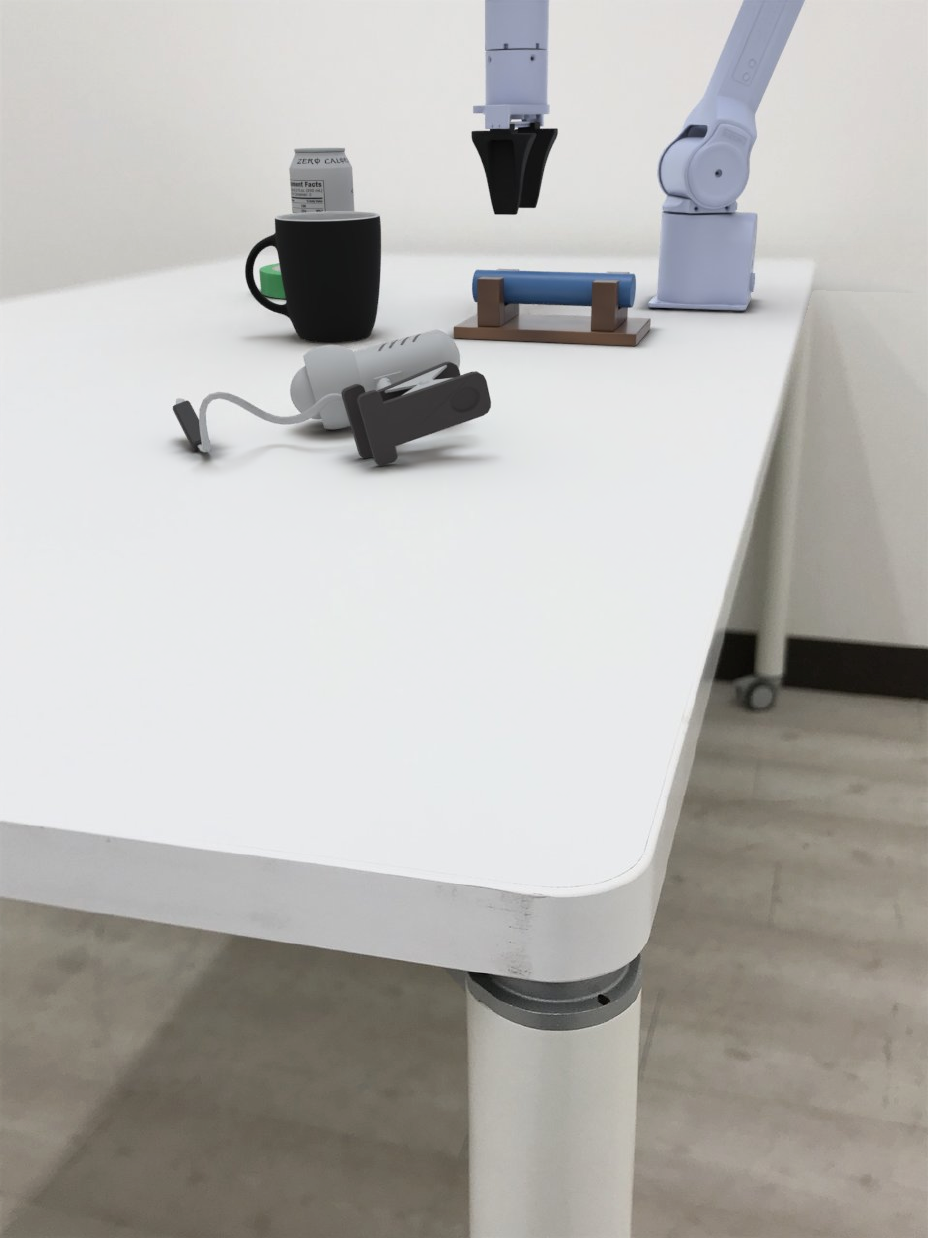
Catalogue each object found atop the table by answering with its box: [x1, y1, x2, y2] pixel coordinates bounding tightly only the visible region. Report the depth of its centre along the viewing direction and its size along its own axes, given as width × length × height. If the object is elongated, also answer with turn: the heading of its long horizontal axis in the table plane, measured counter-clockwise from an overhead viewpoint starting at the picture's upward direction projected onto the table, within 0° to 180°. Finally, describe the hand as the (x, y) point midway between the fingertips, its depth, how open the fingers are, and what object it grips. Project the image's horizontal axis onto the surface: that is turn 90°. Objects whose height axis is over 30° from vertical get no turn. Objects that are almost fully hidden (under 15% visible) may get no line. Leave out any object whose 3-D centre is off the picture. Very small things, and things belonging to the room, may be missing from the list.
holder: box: [453, 268, 652, 347], centre depth 97 cm, size 16×8×5 cm, turn 73°
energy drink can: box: [288, 147, 355, 214], centre depth 109 cm, size 6×6×15 cm
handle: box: [471, 269, 637, 309], centre depth 96 cm, size 14×3×3 cm, turn 73°
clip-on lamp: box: [172, 329, 492, 467], centre depth 65 cm, size 12×6×18 cm
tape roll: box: [258, 262, 286, 300], centre depth 123 cm, size 11×11×3 cm
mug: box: [244, 211, 382, 344], centre depth 96 cm, size 12×9×10 cm
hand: (515, 210), depth 106 cm, fingers open, 7 cm apart
